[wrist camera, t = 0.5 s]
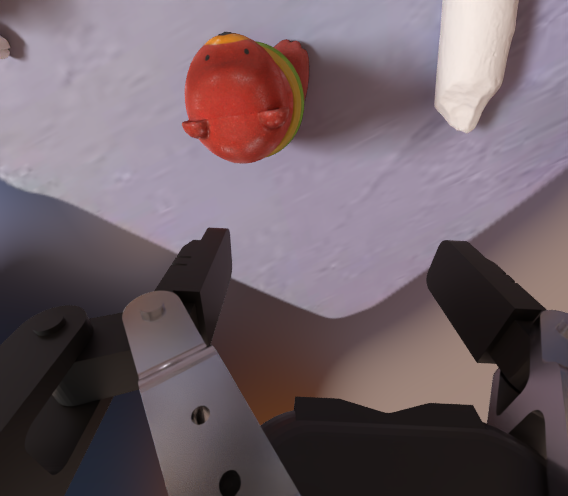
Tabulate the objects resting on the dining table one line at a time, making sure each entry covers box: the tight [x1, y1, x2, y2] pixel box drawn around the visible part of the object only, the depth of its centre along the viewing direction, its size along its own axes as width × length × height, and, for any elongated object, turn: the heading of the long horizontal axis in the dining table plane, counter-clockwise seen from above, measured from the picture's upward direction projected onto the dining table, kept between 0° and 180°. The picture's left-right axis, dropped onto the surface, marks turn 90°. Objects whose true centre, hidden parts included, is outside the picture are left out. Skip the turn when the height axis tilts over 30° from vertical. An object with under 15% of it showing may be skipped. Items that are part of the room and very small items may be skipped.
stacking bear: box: [182, 32, 309, 163], centre depth 23 cm, size 11×10×18 cm
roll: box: [434, 0, 519, 133], centre depth 26 cm, size 6×12×6 cm, turn 11°
